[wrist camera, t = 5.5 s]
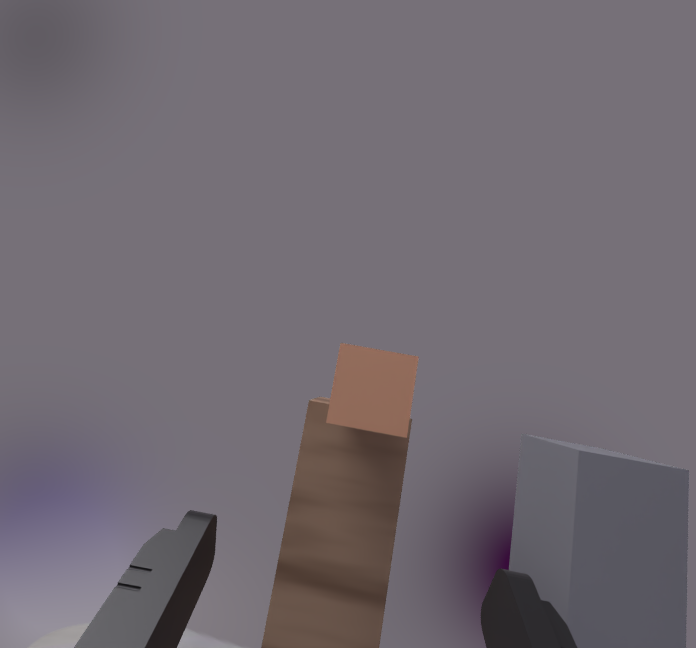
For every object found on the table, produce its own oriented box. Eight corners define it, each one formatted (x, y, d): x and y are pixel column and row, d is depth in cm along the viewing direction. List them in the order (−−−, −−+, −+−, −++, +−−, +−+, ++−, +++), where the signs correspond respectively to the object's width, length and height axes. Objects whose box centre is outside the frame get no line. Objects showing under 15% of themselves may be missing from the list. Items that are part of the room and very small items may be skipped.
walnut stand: (321, 1046, 18) (411, 419, 24) (190, 1012, 19) (309, 400, 24) (330, 847, 26) (397, 410, 32) (239, 825, 27) (320, 396, 32)
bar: (406, 437, 13) (418, 356, 13) (325, 422, 13) (340, 342, 14) (370, 402, 40) (374, 375, 41) (344, 397, 41) (348, 371, 41)
